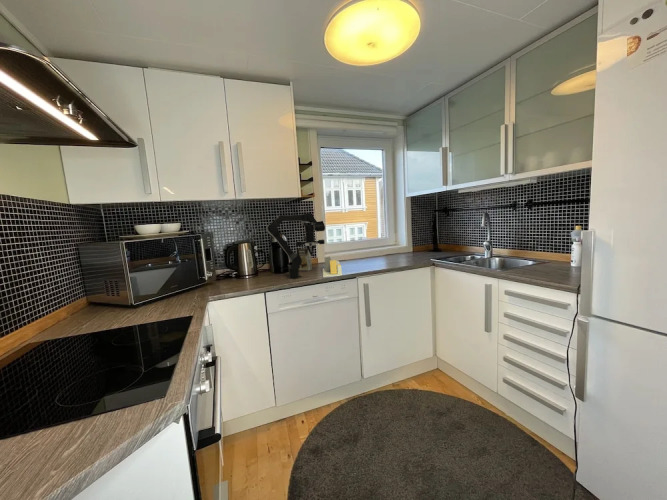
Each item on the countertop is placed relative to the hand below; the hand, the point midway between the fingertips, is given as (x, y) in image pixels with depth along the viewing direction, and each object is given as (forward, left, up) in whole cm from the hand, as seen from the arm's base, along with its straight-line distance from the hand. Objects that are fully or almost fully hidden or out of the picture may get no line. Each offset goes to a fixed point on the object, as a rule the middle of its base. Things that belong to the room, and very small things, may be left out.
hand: (311, 255), depth 182 cm
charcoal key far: (+18, -2, -12) cm, 21 cm away
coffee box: (+18, +18, -13) cm, 29 cm away
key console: (+10, -9, -13) cm, 19 cm away
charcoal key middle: (+9, -7, -12) cm, 16 cm away
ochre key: (+2, -15, -12) cm, 19 cm away
